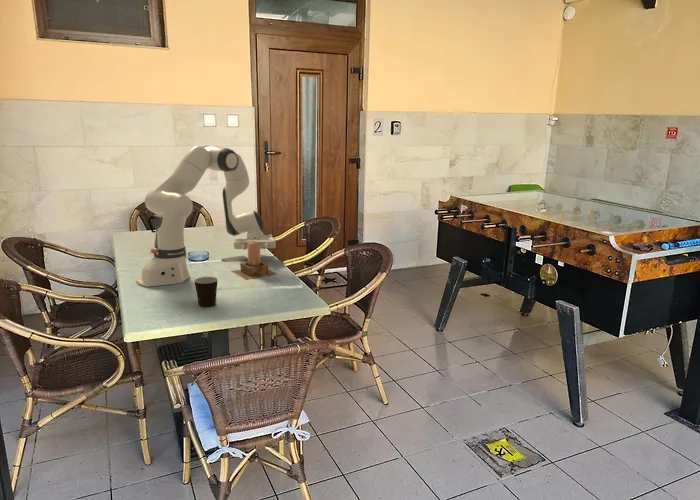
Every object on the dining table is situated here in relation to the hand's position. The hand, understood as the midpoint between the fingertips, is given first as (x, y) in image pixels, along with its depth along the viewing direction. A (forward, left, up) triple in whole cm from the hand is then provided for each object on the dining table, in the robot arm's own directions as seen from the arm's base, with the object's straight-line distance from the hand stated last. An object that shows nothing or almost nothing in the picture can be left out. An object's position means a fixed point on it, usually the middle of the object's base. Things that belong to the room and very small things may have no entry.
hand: (254, 247), depth 252 cm
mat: (-2, +15, -10) cm, 18 cm away
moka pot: (-23, +65, -10) cm, 70 cm away
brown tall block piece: (-6, -12, -9) cm, 16 cm away
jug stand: (-6, -11, -10) cm, 16 cm away
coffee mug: (-38, -35, -10) cm, 52 cm away
